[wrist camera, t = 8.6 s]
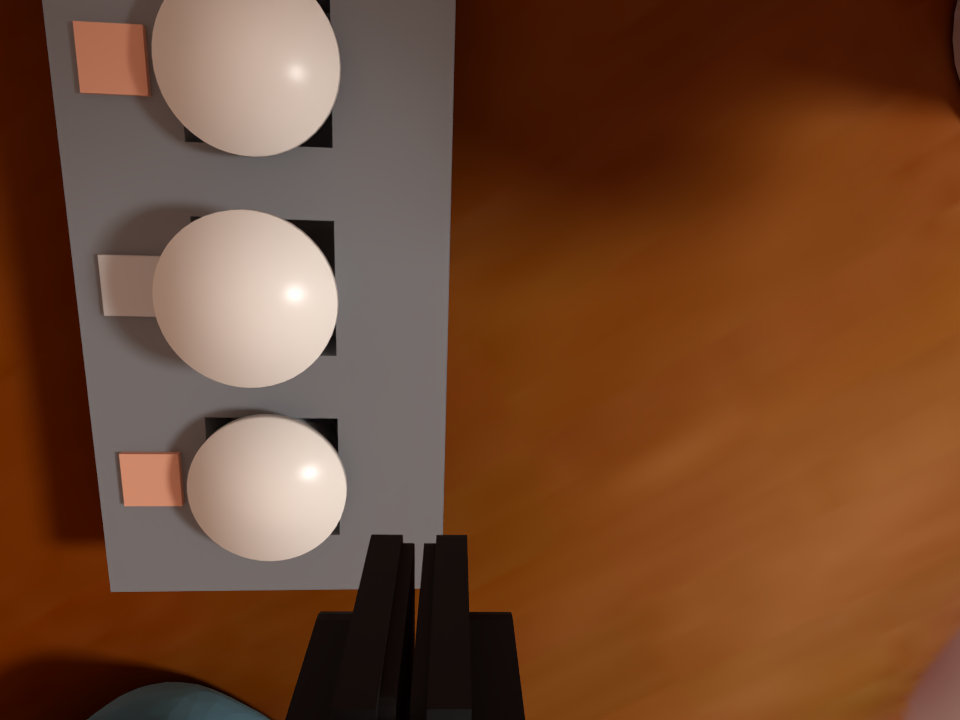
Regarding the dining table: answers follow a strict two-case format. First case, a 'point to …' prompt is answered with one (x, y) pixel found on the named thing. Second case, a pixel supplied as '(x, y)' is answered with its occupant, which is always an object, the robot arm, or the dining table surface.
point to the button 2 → (268, 486)
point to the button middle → (245, 298)
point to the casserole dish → (176, 704)
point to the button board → (316, 211)
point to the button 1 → (247, 71)
